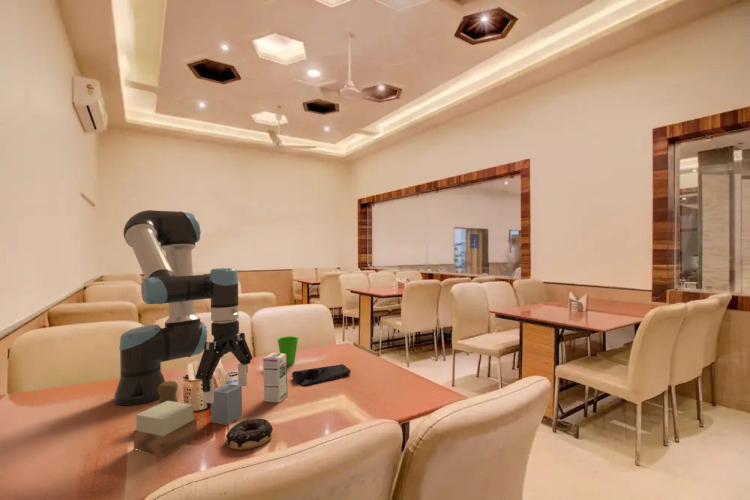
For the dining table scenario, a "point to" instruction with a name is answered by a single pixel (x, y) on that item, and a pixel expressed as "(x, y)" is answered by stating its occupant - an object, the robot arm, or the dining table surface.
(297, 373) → the dark slate chunk
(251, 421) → the donut
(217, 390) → the gray block
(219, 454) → the dining table surface
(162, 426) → the tower top
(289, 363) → the cup
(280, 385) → the syrup box
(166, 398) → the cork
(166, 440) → the tower base
